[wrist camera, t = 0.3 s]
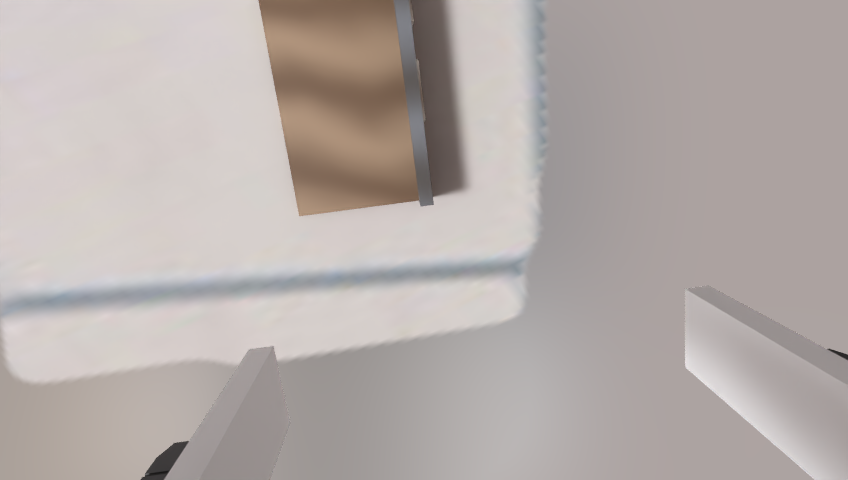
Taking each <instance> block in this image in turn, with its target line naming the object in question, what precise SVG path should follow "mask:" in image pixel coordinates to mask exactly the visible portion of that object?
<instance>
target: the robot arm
mask: <svg viewBox="0 0 848 480" xmlns="http://www.w3.org/2000/svg"><path fill="white" fill-rule="evenodd" d="M685 367H686V368H687V369H688V370H689V371H690V372H691V373H692V374H694V375H695V376H696V377H697V378H698V379H699V380H701V381H702V382H703V383H704V384H705V385H706V386H708V387H709V388H710V389H711V390H712V391H713V392H714V393H716V394H717V395H718V396H719V397H720V398H721V399H722V400H724V401H725V402H726V403H727V404H728V405H729V406H731V407H732V408H733V409H734V410H735V411H736V412H738V413H739V414H740V415H741V416H742V417H743V418H744V419H746V420H747V421H748V422H749V423H750V424H751V425H752V426H754V427H755V428H756V429H757V430H758V431H759V432H761V433H762V434H763V435H764V436H765V437H766V438H767V439H769V440H770V441H771V442H772V443H773V444H774V445H775V446H777V447H778V448H779V449H780V450H781V451H782V452H784V453H785V454H786V455H787V456H788V457H789V458H791V459H792V460H793V461H794V462H795V463H796V464H797V465H798V466H800V467H801V468H802V469H803V470H804V471H805V472H807V473H808V474H809V475H810V476H811V477H812V478H813V479H815V480H848V355H847V354H844V353H841V352H838V351H835V350H831V349H825V348H824V347H822V346H820V345H818V344H816V343H815V342H813V341H811V340H809V339H807V338H805V337H803V336H802V335H800V334H798V333H796V332H794V331H792V330H790V329H788V328H787V327H785V326H783V325H781V324H779V323H777V322H775V321H773V320H772V319H770V318H768V317H766V316H764V315H763V314H761V313H759V312H757V311H755V310H753V309H751V308H750V307H748V306H746V305H744V304H742V303H740V302H738V301H736V300H735V299H733V298H731V297H729V296H727V295H725V294H723V293H722V292H720V291H718V290H716V289H714V288H712V287H710V286H703V287H695V288H689V289H685ZM289 426H290V419H289V414H288V410H287V405H286V401H285V396H284V391H283V387H282V382H281V378H280V373H279V369H278V364H277V360H276V355H275V351H274V346H271V347H264V348H257V349H250V350H249V351H248V352H247V354H246V355H245V357H244V358H243V360H242V361H241V363H240V364H239V366H238V367H237V369H236V370H235V372H234V374H233V375H232V377H231V378H230V380H229V381H228V383H227V384H226V386H225V387H224V389H223V391H222V392H221V393H220V395H219V396H218V398H217V400H216V401H215V403H214V404H213V406H212V407H211V409H210V410H209V412H208V413H207V415H206V416H205V418H204V419H203V421H202V422H201V424H200V425H199V427H198V429H197V430H196V432H195V433H194V435H193V436H192V438H191V439H190V441H186V442H179V443H174V444H173V445H172V446H170V447H169V448H168V449H167V450H166V451H164V452H163V453H162V454H161V455H159V456H158V457H157V458H156V459H155V461H154V462H153V464H152V465H151V466H150V468H149V469H148V470H147V472H146V473H145V477H143V478H142V479H141V480H270V478H271V476H272V473H273V470H274V467H275V465H276V462H277V459H278V456H279V453H280V451H281V448H282V445H283V442H284V439H285V436H286V434H287V431H288V428H289Z"/></svg>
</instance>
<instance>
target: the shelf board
mask: <svg viewBox="0 0 848 480" xmlns="http://www.w3.org/2000/svg"><path fill="white" fill-rule="evenodd" d="M259 5H260V10H261V16H262V21H263V26H264V32H265V37H266V42H267V47H268V53H269V58H270V63H271V69H272V74H273V79H274V85H275V90H276V95H277V100H278V106H279V111H280V116H281V122H282V127H283V132H284V138H285V143H286V148H287V153H288V159H289V164H290V169H291V175H292V180H293V185H294V191H295V196H296V201H297V206H298V212H299V216H304V215H312V214H319V213H327V212H334V211H342V210H350V209H357V208H365V207H372V206H380V205H388V204H395V203H403V202H410V201H418V200H419V201H420V205H421V206H427V205H434V204H433V195H432V187H431V179H430V171H429V163H428V154H427V146H426V138H425V130H424V121H426V118H425V110H424V101H423V93H422V85H421V76H420V68H419V60H418V59H416V56H415V48H414V39H413V31H412V26H413V23H414V18H413V10H412V2H411V0H259Z"/></svg>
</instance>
